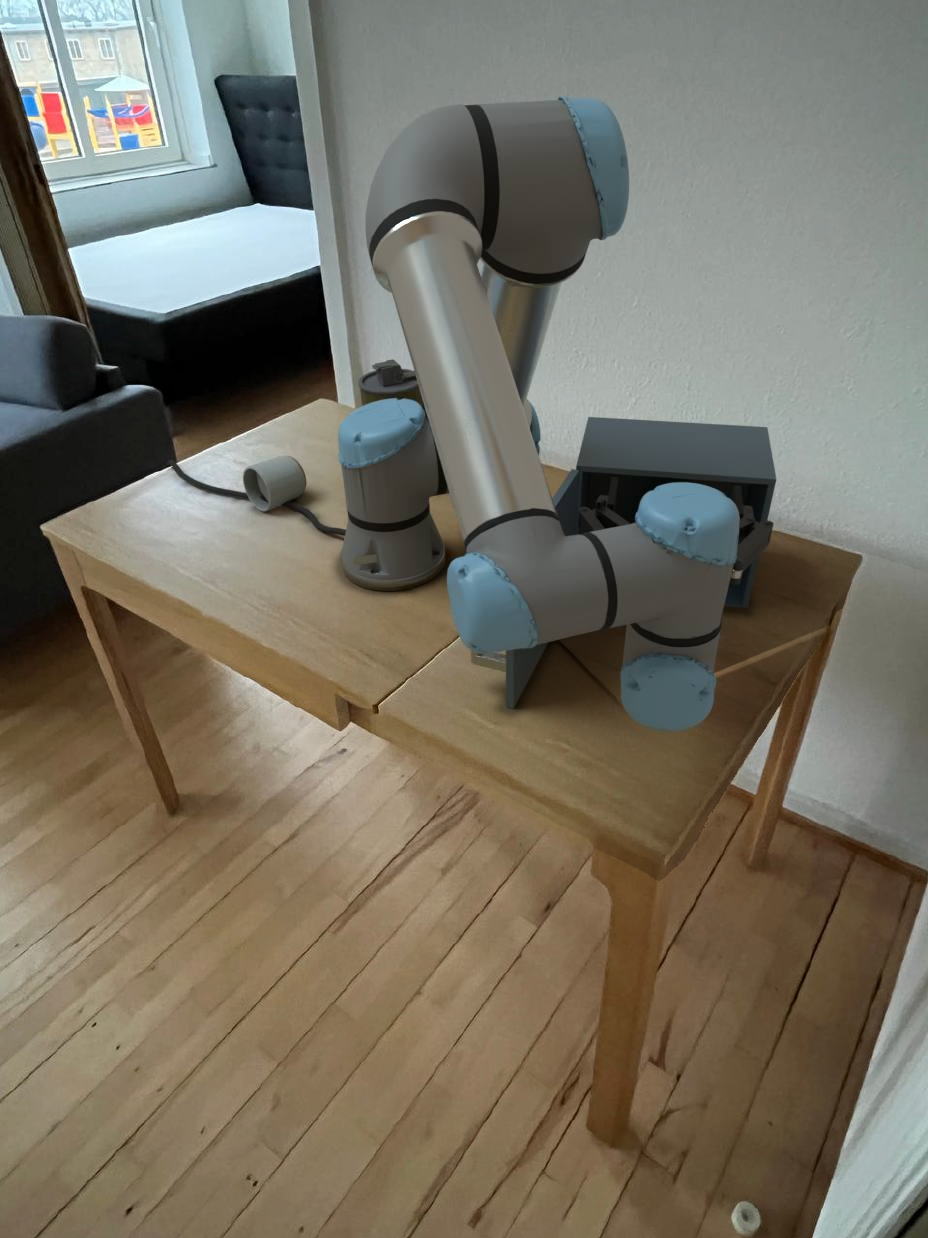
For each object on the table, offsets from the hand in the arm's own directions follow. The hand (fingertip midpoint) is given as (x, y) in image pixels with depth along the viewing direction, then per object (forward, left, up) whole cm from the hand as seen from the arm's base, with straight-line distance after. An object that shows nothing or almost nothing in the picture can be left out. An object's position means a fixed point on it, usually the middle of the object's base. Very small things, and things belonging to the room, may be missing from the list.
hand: (673, 491), depth 93 cm
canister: (-57, -11, -20) cm, 61 cm away
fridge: (-10, +8, -20) cm, 24 cm away
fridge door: (-6, -17, -20) cm, 27 cm away
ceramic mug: (-60, -33, -20) cm, 71 cm away
